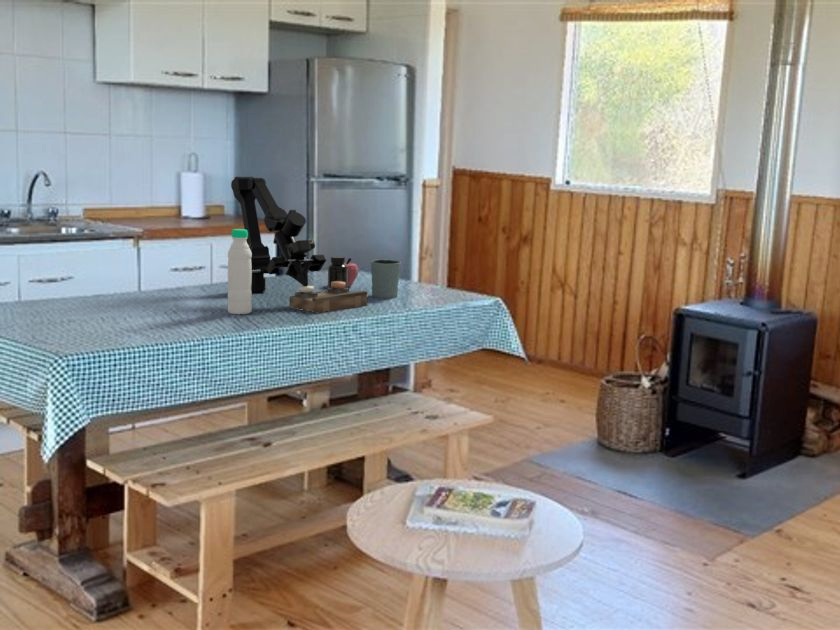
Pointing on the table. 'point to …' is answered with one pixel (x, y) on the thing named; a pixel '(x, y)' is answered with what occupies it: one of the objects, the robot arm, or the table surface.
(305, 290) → the button cream
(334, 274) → the supplement bottle
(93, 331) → the table surface
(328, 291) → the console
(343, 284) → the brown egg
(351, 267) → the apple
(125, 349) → the table surface
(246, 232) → the water bottle
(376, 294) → the grey green plant pot
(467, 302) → the table surface
